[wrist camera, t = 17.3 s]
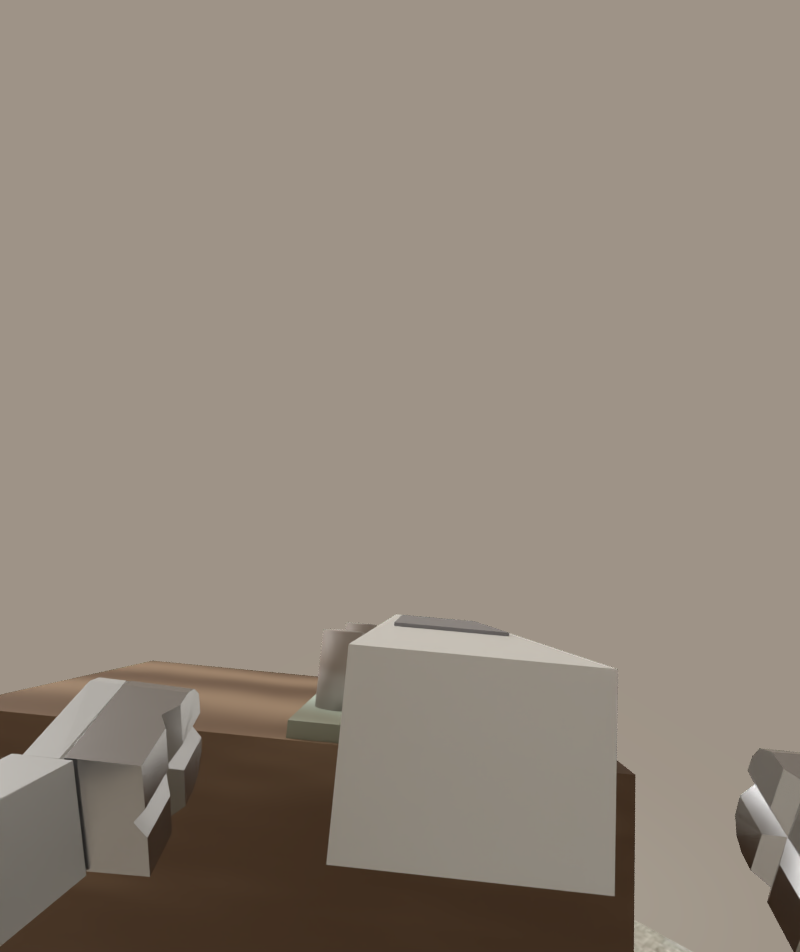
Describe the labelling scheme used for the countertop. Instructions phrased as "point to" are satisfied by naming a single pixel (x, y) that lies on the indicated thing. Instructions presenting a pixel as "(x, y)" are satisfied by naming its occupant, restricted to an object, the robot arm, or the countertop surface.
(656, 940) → the countertop surface
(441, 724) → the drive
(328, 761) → the wooden peg block
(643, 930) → the countertop surface
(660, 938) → the countertop surface
